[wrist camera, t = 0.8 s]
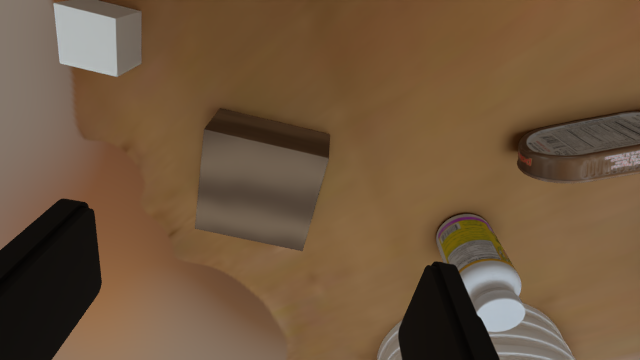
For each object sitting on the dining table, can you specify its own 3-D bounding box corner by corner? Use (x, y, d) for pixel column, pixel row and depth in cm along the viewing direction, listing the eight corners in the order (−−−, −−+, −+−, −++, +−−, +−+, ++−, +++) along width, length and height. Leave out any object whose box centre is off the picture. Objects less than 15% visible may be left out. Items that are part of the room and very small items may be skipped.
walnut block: (220, 107, 41) (204, 129, 36) (329, 133, 42) (328, 158, 37) (210, 198, 47) (194, 228, 42) (306, 219, 48) (302, 251, 43)
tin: (504, 154, 42) (539, 196, 35) (504, 128, 41) (541, 166, 33) (655, 127, 40) (725, 165, 33) (661, 98, 39) (736, 131, 31)
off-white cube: (87, -3, 36) (53, 3, 32) (141, 11, 36) (115, 18, 32) (91, 51, 38) (59, 63, 34) (141, 63, 39) (117, 76, 34)
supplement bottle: (486, 252, 49) (530, 338, 38) (433, 255, 50) (461, 340, 39) (493, 209, 46) (542, 290, 35) (436, 212, 46) (467, 293, 35)
